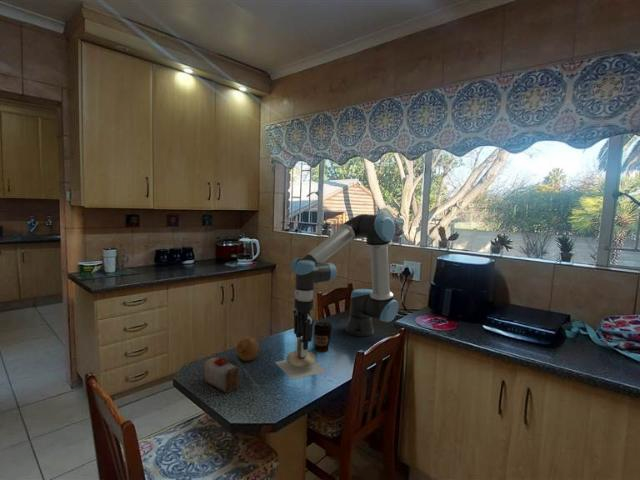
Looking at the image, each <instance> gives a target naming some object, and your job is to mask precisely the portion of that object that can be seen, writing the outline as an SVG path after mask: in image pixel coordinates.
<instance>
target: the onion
mask: <svg viewBox="0 0 640 480" xmlns="http://www.w3.org/2000/svg"><path fill="white" fill-rule="evenodd" d="M260 351H261V350H260V343H259V342H258V339H256V338H255V337H253V336H251V335H248V336H245V337H243V338H242V339H241V340H239V341H238V343H237V345H236V354H237V356H238V357H239V359H240V360H242V361H243V362H249V361H250V362H251V361H252V360H255V359H256V358H257V357H258V355H259V354H260Z"/></svg>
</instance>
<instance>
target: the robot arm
mask: <svg viewBox="0 0 640 480" xmlns="http://www.w3.org/2000/svg"><path fill="white" fill-rule="evenodd" d="M395 235H396V225H395V223H394V221H393V219H392V218H390V217H389V216H385V215H381V214H380V215H379V214H365V213H362V214H357V215H356V216H354V217H351V218H350V219H348V220H346V221H345V222H344V223H343V224H341V225H340V226H339V229H338V230H336V231H335V232H334V233H333V234H332V235H330V236H329V237H327V238H326V239H325V240H323V241H322V242H321V243H320V244H319V245H317V246H316V247H315V248H314V249H312V250H310V252H309V253H307V254H306V255H304V256H303V257H295V258H294V259H292V262H291V263H290V269H291V272H292V273H293V274H295V287H294V288H295V289H294V298H295V299H294V309H295V310H293V334H294V335H295V337H296V347H295V348H296V350H295V351H296V353H298V340H300V339H302V341H301V357H305V356H307V352H309V351H308V350H309V349H308V348H309V342H312V338H313V329H314V322H315V319H314V318H311V311H312V310H313V309H314V297H315V296H314V295H315V294H314V293H315V284H317V283H323V282H324V283H325V282H330V281H333V280H335V279H336V278H337V276H338V269H337V266H336V265H335V264H334V263H332V262H326V261H327V260H328V259H329V258H330V257H331V256H333V255H334V254H336V253H337V252H338V251H339V250H341V249H342V248H343V247H344V246H345V245H346V244H348V243H349V242H354V240H356V239H359V238H365V240H366V243H365V244H366V245H367V246H368V247H369V254H370V271H371V284H372V285H371V286H372V287H371V288H372V289H370V288H369V289H368V288H358V289H354V290H352V291H351V295H350V306H349V317H348V321H347V323H346V324H345V331H346V333H347V334H349V335H352V336H357V337H369V336H372V335H373V334H374V332H375V331H374V325H373V321H372V318H373V319H376V320H379V321H381V322H386V323H389V322H392V321H393V320H394V319H395V318H396V317H397V314H398V311H399V307H400V305H399V302H398V301H397V300H396V299H394V293H393V292H392V291H391V288H390V287H391V285H390V269H389V268H390V265H389V263H390V262H389V250H388V249H389V248H388V247H389V246H390V244H391V243H392V242H391V241H392V240H393V239H394V237H395ZM324 262H326V263H324Z"/></svg>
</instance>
